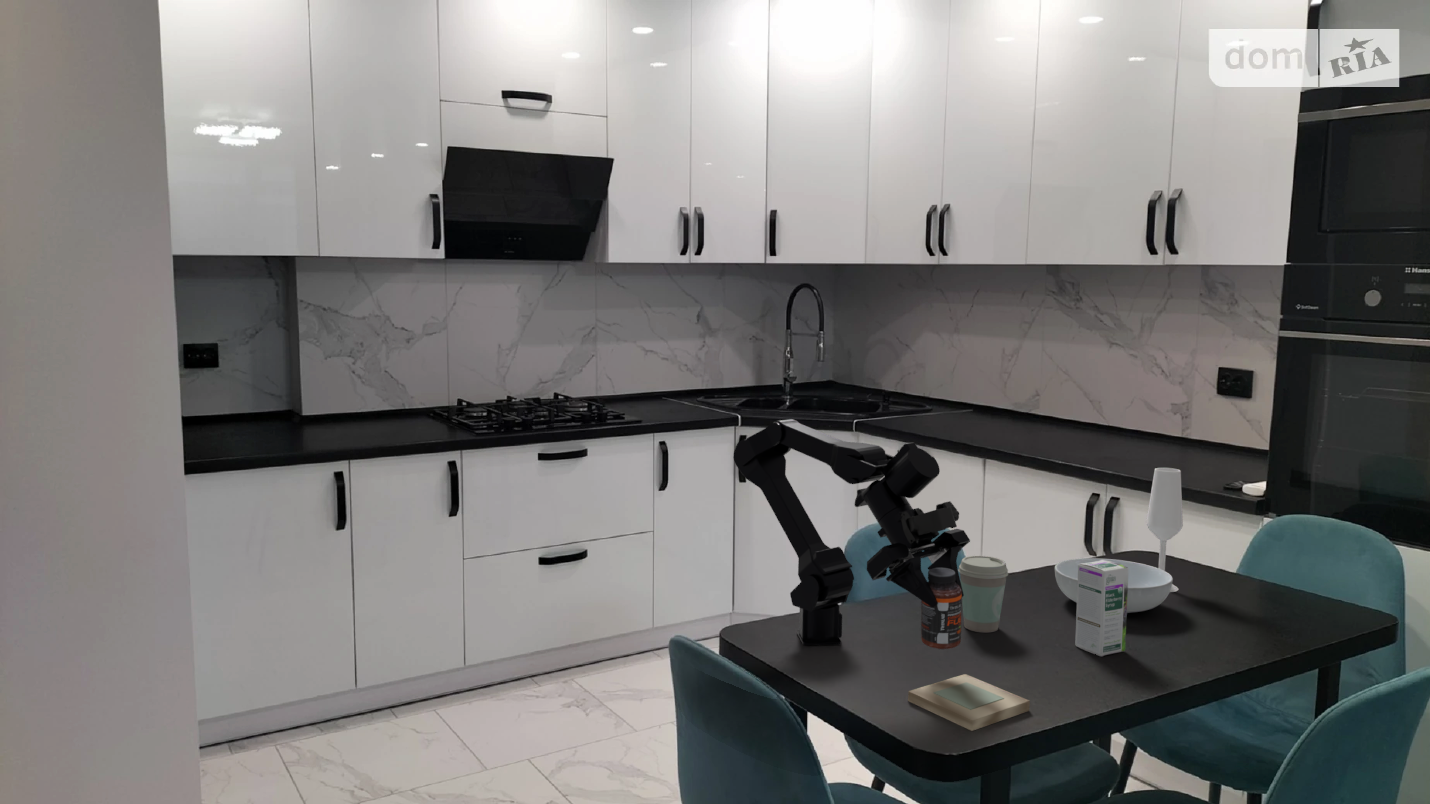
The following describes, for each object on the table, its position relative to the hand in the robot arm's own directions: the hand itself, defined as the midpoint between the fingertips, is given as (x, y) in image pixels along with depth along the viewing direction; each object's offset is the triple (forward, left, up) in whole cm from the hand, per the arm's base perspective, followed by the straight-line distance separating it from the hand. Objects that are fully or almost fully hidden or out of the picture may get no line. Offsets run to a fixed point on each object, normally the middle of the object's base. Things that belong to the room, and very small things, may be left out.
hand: (948, 601), depth 153 cm
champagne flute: (+60, +47, -13) cm, 77 cm away
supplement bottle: (0, +2, -7) cm, 7 cm away
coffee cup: (+15, +26, -13) cm, 33 cm away
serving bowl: (+44, +36, -14) cm, 58 cm away
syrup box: (+31, +14, -13) cm, 37 cm away
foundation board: (+1, -7, -13) cm, 15 cm away
